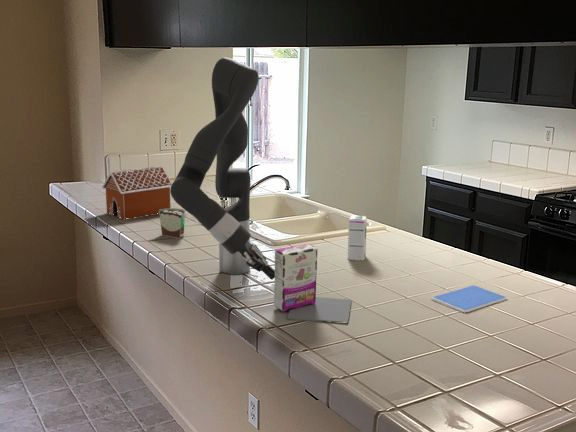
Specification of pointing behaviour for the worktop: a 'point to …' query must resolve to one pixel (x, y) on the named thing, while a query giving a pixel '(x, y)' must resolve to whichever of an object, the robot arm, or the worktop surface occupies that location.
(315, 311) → the mat
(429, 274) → the worktop surface
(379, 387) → the worktop surface
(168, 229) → the food container
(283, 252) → the candy bar box
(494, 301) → the tablet computer
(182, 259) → the worktop surface
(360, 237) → the syrup box
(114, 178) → the gingerbread house
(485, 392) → the worktop surface
